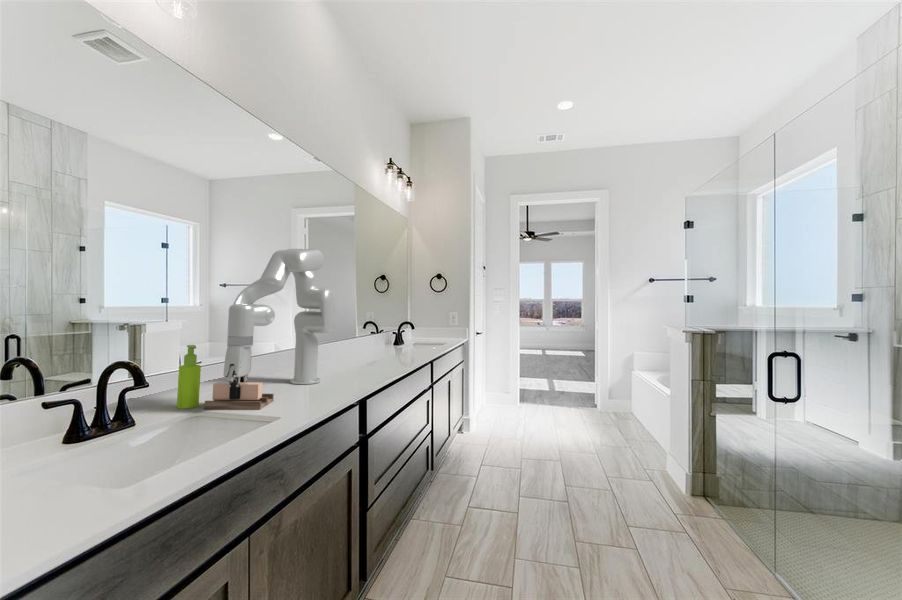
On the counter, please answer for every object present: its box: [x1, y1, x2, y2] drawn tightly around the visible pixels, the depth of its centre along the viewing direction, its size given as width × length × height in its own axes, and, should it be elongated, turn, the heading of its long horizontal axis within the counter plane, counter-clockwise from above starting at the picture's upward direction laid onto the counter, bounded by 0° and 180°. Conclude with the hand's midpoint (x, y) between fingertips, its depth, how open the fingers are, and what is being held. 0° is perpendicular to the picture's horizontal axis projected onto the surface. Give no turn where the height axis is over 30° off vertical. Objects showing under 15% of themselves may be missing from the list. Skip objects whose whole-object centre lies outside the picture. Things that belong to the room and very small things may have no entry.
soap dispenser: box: [176, 344, 202, 410], centre depth 124 cm, size 6×7×20 cm
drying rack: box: [203, 393, 275, 411], centre depth 128 cm, size 12×17×2 cm
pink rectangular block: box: [211, 381, 263, 401], centre depth 126 cm, size 4×14×5 cm, turn 96°
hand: (237, 396), depth 126 cm, fingers closed on pink rectangular block, 3 cm apart
